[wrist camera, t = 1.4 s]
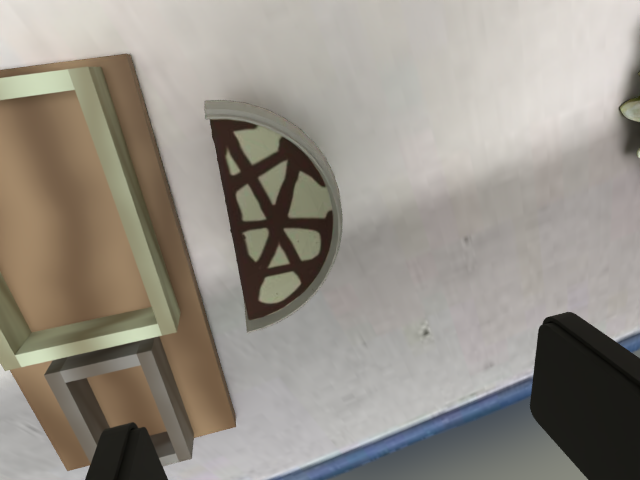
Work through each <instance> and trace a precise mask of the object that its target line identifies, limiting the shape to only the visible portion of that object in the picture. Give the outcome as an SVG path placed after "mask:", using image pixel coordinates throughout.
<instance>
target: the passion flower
mask: <svg viewBox="0 0 640 480" xmlns="http://www.w3.org/2000/svg"><path fill="white" fill-rule="evenodd" d="M638 75H639V76H640V72H639V73H638ZM620 110H621V112H622V113H623V115H624V116H625V117H626V118H628V119H630V120H634V121H637V122H640V96H639V97H637V98H633V99H630V100H628V101H627V102H625V103H624V104H622V105H621V107H620ZM637 157H638V158H640V148H639V149H638V151H637Z"/></svg>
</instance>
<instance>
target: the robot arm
mask: <svg viewBox="0 0 640 480" xmlns="http://www.w3.org/2000/svg"><path fill="white" fill-rule="evenodd" d="M530 409H531V412H532V415H533V417H534V418H535V420H536V421H537V422H538V424H539V425H540V426H541V427H542V428H543V429H544V430H545V431H546V432H547V434H548V435H549V436H550V437H551V438H552V439H553V440H554V441H555V443H556V444H557V445H558V446H559V447H560V448H561V449H562V450H563V452H564V453H565V454H566V455H567V456H568V457H569V458H570V459H571V461H572V462H573V463H574V464H575V465H576V466H577V467H578V468H579V469H580V471H581V472H582V473H583V474H584V475H585V476H586V477H587V479H588V480H640V358H638V357H637V356H635V355H634V354H633V353H631V352H630V351H628V350H627V349H625V348H624V347H622V346H621V345H620V344H618V343H617V342H615V341H614V340H612V339H611V338H609V337H608V336H607V335H605V334H604V333H602V332H601V331H599V330H598V329H596V328H595V327H594V326H592V325H591V324H589V323H588V322H586V321H585V320H583V319H582V318H580V317H579V316H578V315H576V314H574V313H572V312H566V313H562V314H558V315H554V316H550V317H547V318H545V320H544V321H543V325H541V326H540V327H539V331H538V340H537V349H536V358H535V366H534V375H533V384H532V393H531V402H530ZM85 480H168V479H167V476H166V474H165V471H164V469H163V467H162V464H161V462H160V459H159V457H158V455H157V452H156V450H155V447H154V445H153V443H152V440H151V438H150V435H149V433H148V431H147V429H146V428H145V427H141V428H138V426H137V425H136V424H135V423H134V422H131V423H127V424H124V425H120V426H116V427H112V428H108V429H105V430H104V431H103V432H102V434H101V436H100V439H99V441H98V444H97V447H96V450H95V453H94V456H93V459H92V462H91V464H90V467H89V470H88V473H87V476H86V479H85Z"/></svg>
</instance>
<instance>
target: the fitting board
mask: <svg viewBox="0 0 640 480" xmlns="http://www.w3.org/2000/svg"><path fill="white" fill-rule="evenodd" d="M0 363H1V365H2V367H3V368H4V370H5V371H7V370H10V371H11V373H12V375H13V377H14V378H15V380H16V382H17V384H18V385H19V387H20V389H21V391H22V392H23V394H24V396H25V398H26V399H27V401H28V403H29V405H30V406H31V408H32V410H33V412H34V413H35V415H36V417H37V419H38V420H39V422H40V424H41V426H42V427H43V429H44V431H45V433H46V434H47V436H48V438H49V440H50V441H51V443H52V445H53V447H54V448H55V450H56V452H57V454H58V455H59V457H60V459H61V461H62V462H63V464H64V466H65V468H66V469H67V471H70V470H73V469H77V468H81V467H85V466H89V465H90V464H91V462H92V459H93V456H94V453H95V450H96V447H97V444H98V441H99V439H100V436H101V434H102V432H103V431H104V430H105V429H108V428H112V427H116V426H120V425H124V424H127V423H131V422H134V423H135V424H136V425H137V426H138V428H141V427H145V428H146V429H147V431H148V433H149V435H150V438H151V440H152V443H153V445H154V447H155V450H156V452H157V455H158V457H159V459H160V462H161V464H162V466H166V465H170V464H173V463H177V462H181V461H185V460H188V459H192V451H193V440H194V438H195V437H199V436H203V435H207V434H211V433H214V432H218V431H222V430H226V429H230V428H233V427H236V416H235V412H234V409H233V405H232V402H231V399H230V395H229V392H228V388H227V385H226V381H225V378H224V375H223V371H222V368H221V364H220V361H219V357H218V354H217V350H216V347H215V344H214V340H213V337H212V333H211V330H210V326H209V323H208V320H207V316H206V313H205V309H204V306H203V302H202V299H201V295H200V292H199V289H198V285H197V282H196V278H195V275H194V271H193V268H192V265H191V261H190V258H189V254H188V251H187V247H186V244H185V240H184V237H183V234H182V230H181V227H180V223H179V220H178V216H177V213H176V210H175V206H174V203H173V199H172V196H171V192H170V189H169V185H168V182H167V179H166V175H165V172H164V168H163V165H162V161H161V158H160V155H159V151H158V148H157V144H156V141H155V137H154V134H153V130H152V127H151V124H150V120H149V117H148V113H147V110H146V106H145V103H144V100H143V96H142V93H141V89H140V86H139V82H138V79H137V75H136V72H135V69H134V65H133V62H132V58H131V55H130V54H121V55H114V56H106V57H98V58H90V59H82V60H75V61H67V62H59V63H51V64H44V65H36V66H28V67H20V68H12V69H5V70H0Z"/></svg>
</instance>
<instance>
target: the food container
mask: <svg viewBox="0 0 640 480" xmlns="http://www.w3.org/2000/svg"><path fill="white" fill-rule="evenodd" d="M204 110H205V119H210V125H211V129H212V138H213V141H214V143H215V148H216V153H217V161H218V164H219V169H220V175H221V180H222V185H223V190H224V195H225V202H226V205H227V211H228V216H229V222H230V227H231V230H230V231H231V233H232V237H233V242H234V247H235V252H236V258H237V263H238V269H239V275H240V280H241V285H242V290H243V296H244V304H245V315H246V326H247V333H250V332H254V331H257V330H261V329H264V328H266V327H269V326H271V325H274V324H276V323H278V322H280V321H282V320H283V319H285V318H287V317H289V316H290V315H292V314H293V313H295V312H296V311H297V310H298V309H300V308H301V307H302V306H304V305H305V304H306V303H307V302H308V301H309V300H310V299H311V298H312V297H313V296H314V295H315V294H316V292H317V291H318V289H319V288H320V287H321V285H322V284H323V283H324V281H325V280H326V278H327V276H328V274H329V272H330V270H331V268H332V266H333V264H334V262H335V259H336V256H337V253H338V250H339V247H340V241H341V235H342V209H341V202H340V196H339V189H338V186H337V183H336V180H335V177H334V174H333V172H332V170H331V168H330V166H329V164H328V162H327V160H326V158H325V156H324V155H323V154H322V152H321V151H320V150H319V148H318V147H317V146H316V145H315V143H314V142H313V141H312V140H311V139H310V138H309V137H308V136H307V135H306V134H305V133H304V132H303V131H302V130H301V129H299V128H298V127H296V126H295V125H294V124H292V123H291V122H289V121H288V120H286V119H285V118H283V117H281V116H279V115H277V114H275V113H273V112H271V111H269V110H267V109H264V108H261V107H257V106H254V105H250V104H247V103H242V102H234V101H226V100H212V101H205V108H204Z"/></svg>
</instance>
